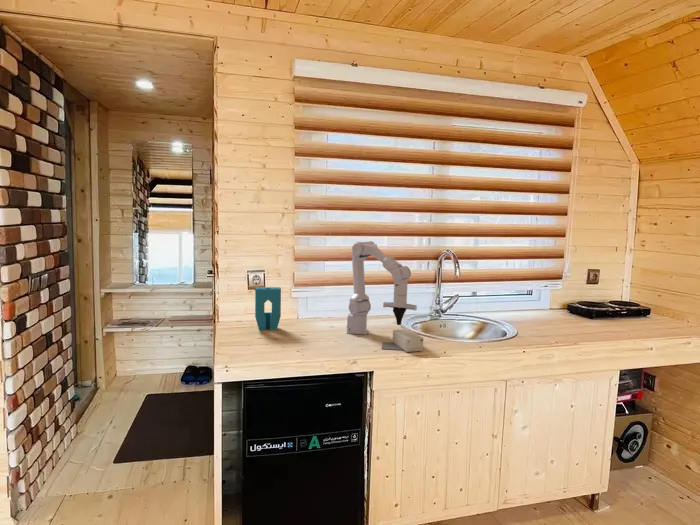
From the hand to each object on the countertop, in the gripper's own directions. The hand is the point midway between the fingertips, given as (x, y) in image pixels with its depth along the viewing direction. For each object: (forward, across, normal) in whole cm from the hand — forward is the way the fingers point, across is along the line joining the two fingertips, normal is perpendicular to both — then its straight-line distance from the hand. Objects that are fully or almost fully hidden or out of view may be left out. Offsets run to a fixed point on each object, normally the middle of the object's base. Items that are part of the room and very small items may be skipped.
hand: (399, 324), depth 202 cm
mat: (+9, 0, +2) cm, 10 cm away
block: (+10, +64, 0) cm, 65 cm away
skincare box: (+6, 0, -5) cm, 8 cm away
